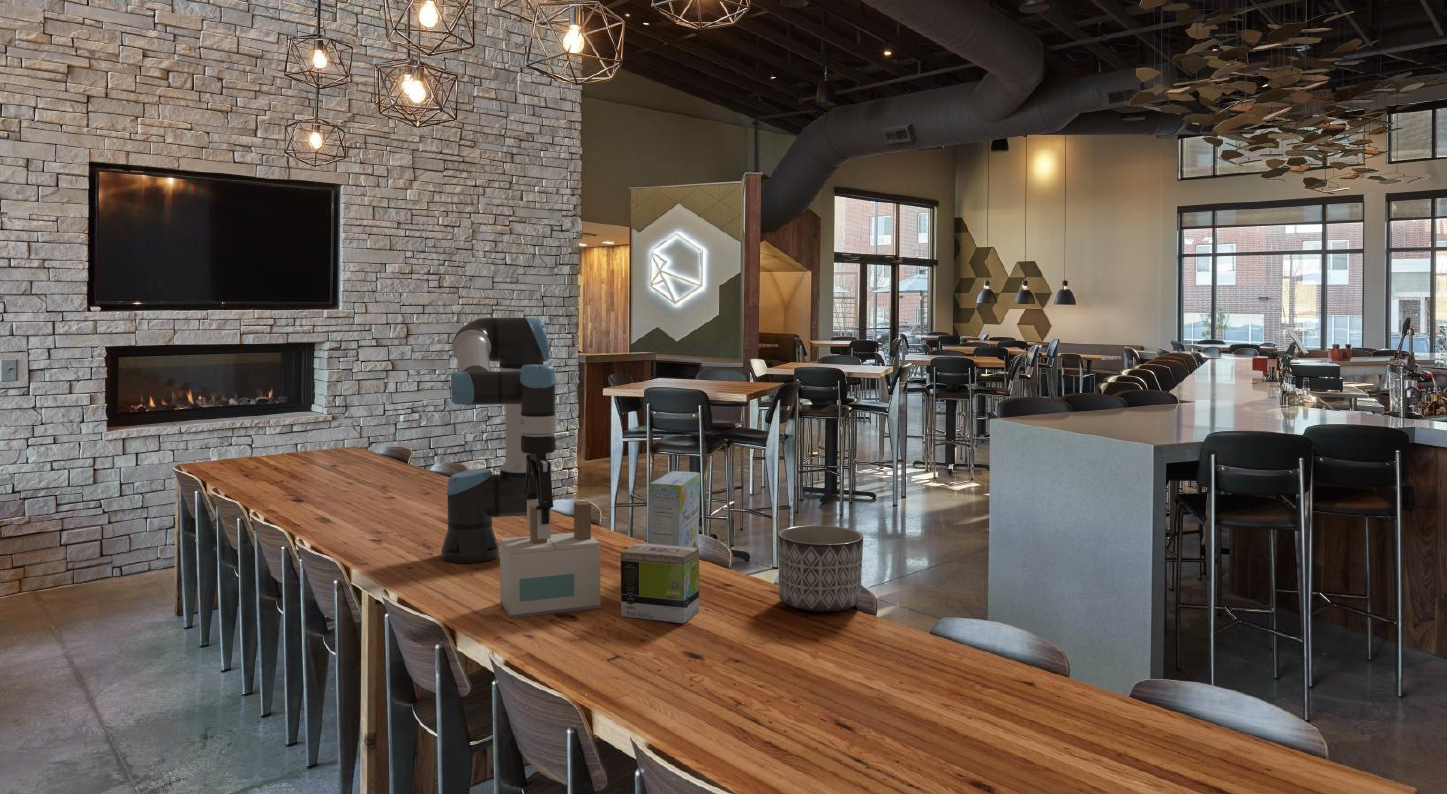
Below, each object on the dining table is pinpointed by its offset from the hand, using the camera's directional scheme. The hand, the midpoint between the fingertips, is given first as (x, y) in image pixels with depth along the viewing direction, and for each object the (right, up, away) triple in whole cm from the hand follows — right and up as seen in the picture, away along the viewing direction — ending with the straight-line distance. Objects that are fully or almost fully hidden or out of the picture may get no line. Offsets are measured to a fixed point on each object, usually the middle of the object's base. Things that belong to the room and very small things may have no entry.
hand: (538, 532), depth 209 cm
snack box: (+29, -15, +26) cm, 42 cm away
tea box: (+27, -18, -3) cm, 33 cm away
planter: (+63, -17, +5) cm, 66 cm away
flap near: (-2, -3, -1) cm, 4 cm away
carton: (+2, -17, +2) cm, 17 cm away
